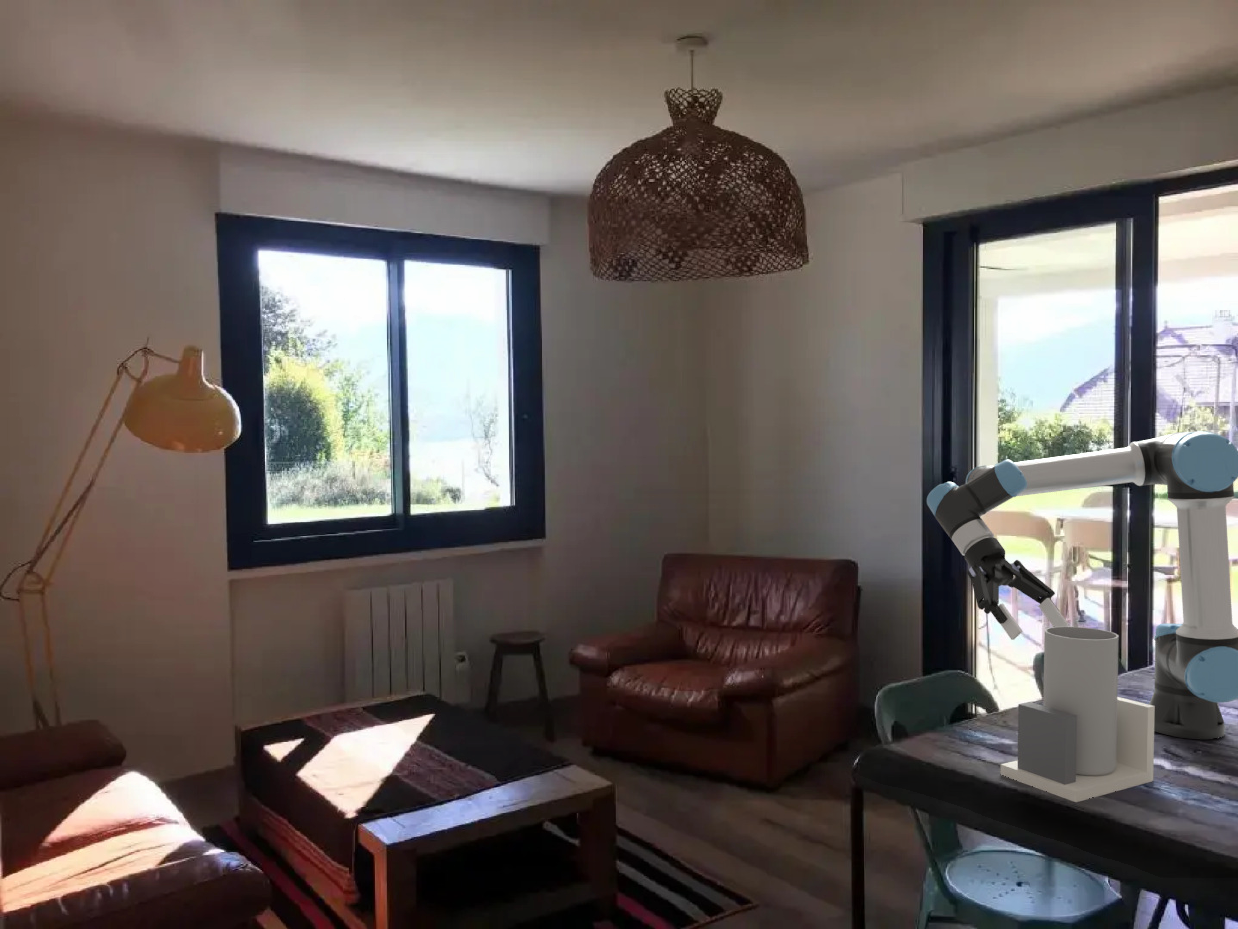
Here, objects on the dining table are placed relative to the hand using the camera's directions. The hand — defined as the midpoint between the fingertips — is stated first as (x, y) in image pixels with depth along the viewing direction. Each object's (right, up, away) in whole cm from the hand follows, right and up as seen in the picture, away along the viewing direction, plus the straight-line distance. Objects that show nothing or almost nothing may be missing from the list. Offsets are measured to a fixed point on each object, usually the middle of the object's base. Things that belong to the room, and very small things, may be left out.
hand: (1040, 632), depth 193 cm
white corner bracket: (+4, -26, -7) cm, 27 cm away
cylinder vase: (+4, -24, -6) cm, 25 cm away
